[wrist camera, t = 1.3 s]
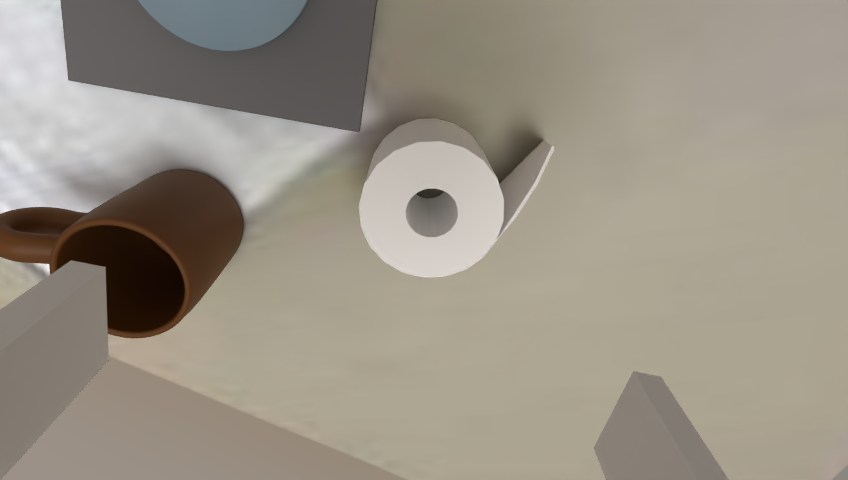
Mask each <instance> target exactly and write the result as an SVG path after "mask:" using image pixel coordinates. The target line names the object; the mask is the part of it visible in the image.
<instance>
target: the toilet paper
mask: <svg viewBox="0 0 848 480" xmlns="http://www.w3.org/2000/svg"><path fill="white" fill-rule="evenodd" d="M554 149H555V148H554V147H553V146H552V145H551V144H549V143H548V142H546V141H545V140H543V141H542V142H541V143H540V144H539V145H538V146H537V147H536V148H535V149H534V150H533V151H532V152H531V153H530V154H529V155H528V156H527V157H526V158H525V159H524V160H523V161H522V162H521V163H520V164H519V165H518V166H517V167H516V168H515V169H514V170H513V171H512V172H511V173H510V174H509V175H508V176H507V177H506V178H505V179H504V180H503V181H502V182H501V183H500V184H499V182H498V179H497V177H496V175H495V173H494V171H493V169H492V167H491V165H490V164H489V162H488V160H487V158H486V156H485V154H484V152H483V150H482V149H481V147H480V146H479V145H478V143H477V142H476V141H475V139H474V138H473V137H472V135H471V134H470V133H468V132H467V131H465V130H464V129H462V128H461V127H459V126H458V125H456V124H455V123H451V122H448V121H444V120H441V119H437V118H430V119H416V120H413V121H410V122H408V123H405V124H403V125H400V126H398V127H397V128H396V129H394V130H393V131H392V132H391V133H389V134H388V135H387V136H386V137H384V138H383V140H382V142H381V143H380V145H379V146H378V148H377V149H376V151H375V153H374V155H373V158H372V161H371V164H370V167H369V170H368V174H367V177H366V180H365V183H364V187H363V191H362V195H361V199H360V203H359V212H360V222H361V228H362V230H363V233H364V235H365V237H366V239H367V241H368V244H369V246H370V247H371V248H372V249H373V250H374V251H375V253H376V254H377V255H378V256H379V257H380V258H381V259H382V260H383V261H384V262H385V263H387V264H389V265H390V266H392V267H394V268H396V269H397V270H399V271H401V272H403V273H407V274H411V275H415V276H419V277H423V278H424V277H445V276H448V275H451V274H454V273H457V272H460V271H463V270H466V269H467V268H469V267H470V266H472V265H473V264H474V263H476V262H477V261H479V260H480V259H482V258H483V257H484V256H485V254H486V253H487V252H488V251H489V250H490V248H491V247H492V246H493V245H494V243H495V242H496V241H497V240H498V239H499V237H500V236H501V235H502V234H503V232H504V231H505V230H506V229H507V228H508V226H509V225H510V224H511V223H512V221H513V220H514V219H515V218H516V216H517V215H518V213H519V212H520V210H521V209H522V207H523V206H524V204H525V203H526V201H527V200H528V198H529V197H530V195H531V193H532V192H533V190H534V189H535V187H536V186H537V184H538V182H539V180H540V178H541V176H542V174H543V171H544V169H545V167H546V165H547V163H548V161H549V159H550V157H551V155H552V153H553V151H554ZM432 188H436V189H440V190H443V191H445V192H444V193H442V194H441V195H440V196H437V197H435V198H423V197H420V196H418V195H416V193H418V192H419V191H422V190H425V189H432Z"/></svg>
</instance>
